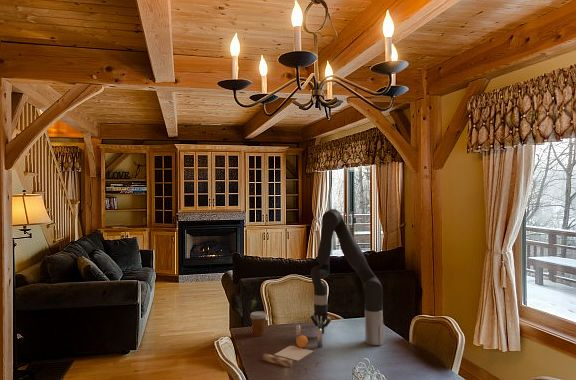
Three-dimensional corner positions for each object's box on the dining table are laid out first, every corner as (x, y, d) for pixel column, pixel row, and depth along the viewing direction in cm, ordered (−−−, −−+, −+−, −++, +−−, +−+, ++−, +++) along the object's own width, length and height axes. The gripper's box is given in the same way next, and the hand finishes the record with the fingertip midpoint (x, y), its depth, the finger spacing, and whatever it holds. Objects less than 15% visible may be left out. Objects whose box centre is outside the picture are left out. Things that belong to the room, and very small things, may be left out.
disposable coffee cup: (268, 332, 234) (267, 311, 235) (265, 337, 225) (265, 315, 225) (252, 331, 235) (251, 310, 236) (248, 337, 226) (248, 315, 226)
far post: (301, 341, 218) (301, 324, 218) (299, 343, 215) (298, 326, 216) (297, 340, 219) (297, 323, 219) (295, 342, 217) (294, 325, 217)
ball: (311, 343, 211) (308, 333, 210) (306, 350, 206) (303, 340, 205) (301, 342, 214) (298, 332, 213) (296, 349, 209) (293, 339, 208)
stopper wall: (292, 365, 187) (292, 360, 187) (290, 367, 185) (290, 361, 185) (265, 358, 196) (265, 353, 196) (262, 359, 194) (262, 354, 194)
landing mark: (313, 351, 204) (313, 350, 204) (298, 360, 192) (298, 360, 192) (290, 345, 212) (290, 345, 212) (274, 354, 200) (274, 354, 200)
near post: (323, 346, 210) (322, 328, 210) (320, 347, 208) (320, 330, 208) (318, 345, 212) (318, 327, 212) (316, 346, 210) (315, 329, 210)
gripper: (306, 302, 225) (307, 334, 225) (327, 305, 218) (328, 338, 217) (313, 299, 231) (314, 330, 231) (334, 302, 224) (335, 334, 224)
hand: (321, 334), depth 224 cm, fingers closed
